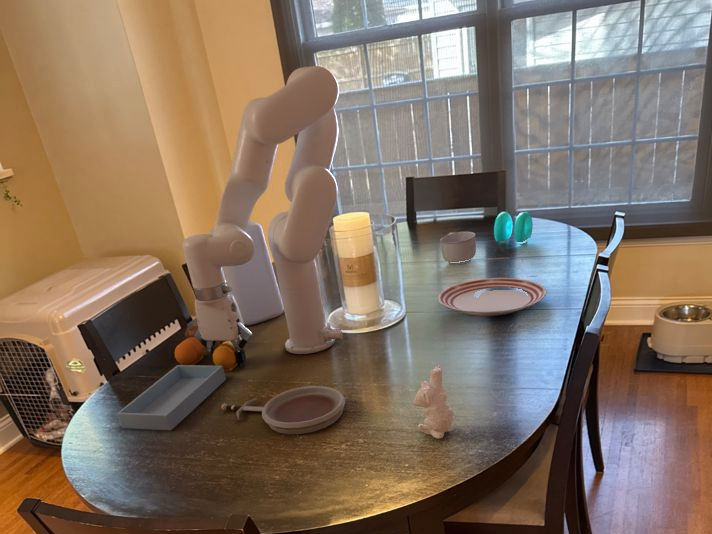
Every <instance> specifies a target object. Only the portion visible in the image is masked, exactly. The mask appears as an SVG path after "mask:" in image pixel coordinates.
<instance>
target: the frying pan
mask: <svg viewBox="0 0 712 534" xmlns="http://www.w3.org/2000/svg"><path fill="white" fill-rule="evenodd" d="M258 402H259V400H258V397H254V398H251V399H250V400H247V401H245V402H244V404H243V405H229V404H227V403H225V402H224V403H222V404H221V406H220V409H221V410H222V411H223V412H227V411H228V410H230V411H231V410H232V411H236V417H237V420H238V421H240V414H242V412H243V411H247V412H248V411H249V412H261V418H262V419H263V420H264V422H265V423H266V424H267V425H268V426H269V428H270V429H271V430H273V431H275V432H276V433H280V434H285V435H302V434H309V433H313V432H317V431H320V430H323V429H325V428H327V427H329V426H331V425H333V424H334V423H335V422H336V421H338V420H339V419H340V418H341V417H342V414H343V412H344V407H345V404H346V400H345V396H344V395H343V394H342V393H341V392H340V391H339V390H338V389H336V388H333V387H330V386H324V385H306V386H301V387H296V388H292V389H289V390H286V391H283V392H281V393H279V394H277V395H275V396H273V397H272V398H270V399H269V400H268V401H266V403H265V404H264V406H251V405H252V404H255V403H258Z"/></svg>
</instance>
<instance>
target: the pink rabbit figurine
mask: <svg viewBox="0 0 712 534" xmlns="http://www.w3.org/2000/svg"><path fill="white" fill-rule="evenodd" d="M442 373H443V370H442V368H441V365H435V366H434V368H432V369H430V373H429V382H428V381H426V380H424V381H422V382H421V386H420V388H419V389H418V391H417V392H416V394H415V397H414V400H413V402H412V403H413V405H414V406H416V407H422V413H423V414H424V415H425V416H426V418H424V420H423V423H419V424H418V425H417V427H418V429H419V430H421V431H422V432H423V433H424V434H425V435H427V436H428V435H429V436H432V437H433V438H434V439H438V440H441V439H443V437H444V436H445V433H447V432H452V431H454V427H452V424H453V419H454V416H455V415H454V410H453V408H452V407H451V406H450V404H447V402H446V401H447V400H448V394H447V391H446V390H445V388H444V387H443V374H442Z"/></svg>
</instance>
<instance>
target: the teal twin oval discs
mask: <svg viewBox="0 0 712 534" xmlns="http://www.w3.org/2000/svg"><path fill="white" fill-rule="evenodd" d="M533 223H534V222H533V217H532V215H531V214H530V213H529V211H523V212H520V213H519V214H518V215H517V217H516V218H515V222H514V224H513V220H512V216H511V215H510V213H509V212H507V211H501V212H500V213H499V214H498V215H497V217H496V218H495V221H494V225H493V236H494V239H495V242H497V241H498V242H500V241H505V240H507V239H509V238H510V239H511V237H512V234H513V236H514V240H515V242H516V243H517V242H523V241H525V240H527V239H528V238H530V239H531V237H532V233H533V225H534V224H533ZM510 239H509V240H508V241H507V242H505V243H498V245H505V244H507V243H508V242H509V241H510ZM527 244H528V242H526V243H523V244H519V245H520V246H525V245H527Z"/></svg>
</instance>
